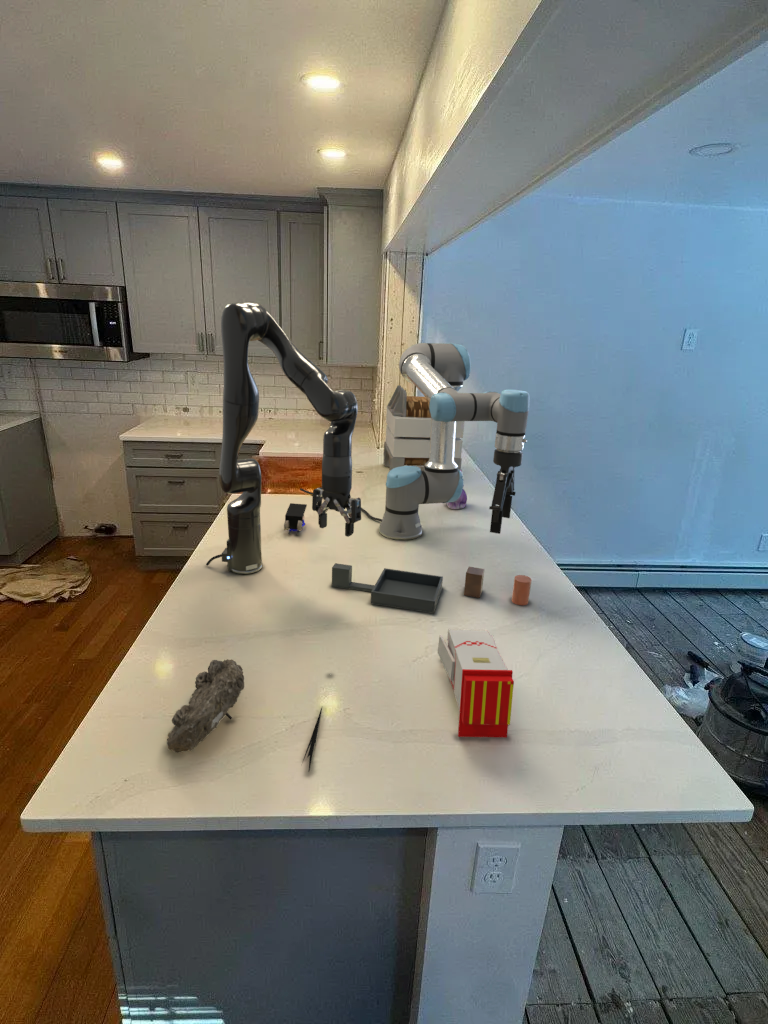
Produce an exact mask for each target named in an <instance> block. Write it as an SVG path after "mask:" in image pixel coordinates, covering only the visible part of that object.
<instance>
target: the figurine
mask: <svg viewBox="0 0 768 1024" xmlns="http://www.w3.org/2000/svg"><path fill="white" fill-rule="evenodd" d="M460 471H461V472H462V473H463V470H462V469H461V470H460ZM464 483H465V482H464ZM464 483H463V490H462V493H461V495H460V497H459V498H458V499H457V500H456V501H454V502H448V503H446V506H447V507H448V509H452V510H460V509H464V508H465V507H466V506H467V502H468V496H467V495H468V494H467V492H466V491H465V489H464V486H465V485H464Z"/></svg>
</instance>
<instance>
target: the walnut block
mask: <svg viewBox="0 0 768 1024" xmlns="http://www.w3.org/2000/svg"><path fill="white" fill-rule="evenodd" d="M484 578H485V568H481V567H474V566H467V570H466V573H465V579H464V589H463V596H466V597H472V598H477V599H480V598H481V596H482V592H483V585H484Z"/></svg>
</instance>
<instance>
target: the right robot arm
mask: <svg viewBox="0 0 768 1024" xmlns="http://www.w3.org/2000/svg"><path fill="white" fill-rule="evenodd" d="M398 363H399V364H398V366H399V367H398V368H399V372H400V374H401V376H402V378H404V380H405V381H406V382H407V383H409V384H413V385H414V387H416V388H417V390H418V391H419V392H420V393H421V394H422V395H423V397H426V398H427V399H428V401H429V402H430V405H429V409H430V413H431V432H430V454H429V461H428V462H427V463H426V464H425V466H424V468H423V469H424V470H422V469H421V467H420V466H407V465H404V466H400V467H396V468H394V469H392V470H390V469H389V470H388V472H387V475H386V480H385V481H386V482H385V504H384V505H385V507H384V508H385V509H384V513H383V515H382V518H378V517H375V516H373V515H371V514H370V513H369V512H368V511H367V510H366V509H365V508H363V507H361V512H363V513H364V514H365V515H366V516H367V517H368V518H369V519H371V520H373V521H378V522H379V527H378V533H379V534H380V535H381V536H382V537H385V538H387V539H389V540H395V541H410V540H415V539H418V538H420V537H421V536H422V535H423V525H422V524H421V518H420V515H419V507H420V505H429V504H447V503H448V502H454V501H456V500H457V499H458V498H459V497H460V495H461V493H462V490H463V489H464V487H463V483H465V482H464V476H463V471H462V472H461V471H460V470H458V465H457V464H456V463H455V462H454V451H455V434H456V421H464V422H494V423H496V430H495V431H496V432H495V439H494V448H495V449H494V450H493V460H492V461H493V464H495V465H496V466H499V467H500V468H499V470H497V473H496V481H495V486H494V489H493V495H492V496H493V497H492V501H491V505H490V506H489V509H488V510H491V519H490V527H489V533H492V534H499V535H500V534H501V531H502V523H503V518H505V519H510V518H511V511H512V504H513V503H512V502H513V496H515V497H516V491H515V478H516V468H518V467H521V466H522V464H523V456H524V453H523V450H524V448H525V444H526V443H528V440H527V439H526V432H527V425H528V417H529V411H530V398H531V397H530V394H529V392H528V391H526V390H519V389H504V390H503V389H502V391H501V392H497V391H491V390H490V391H489V390H488V391H487V390H486V391H484V392H459V391H460V390H461V389H462V388H463V387H464V382H465V381H466V380H468V379H469V378H470V374H471V371H472V361H471V356H470V353H469V351H468V348H466V346H464V345H463V344H458V343H451V342H450V343H445V342H444V343H440V342H439V343H436V342H419V343H418V342H417V343H415V344H412V345H411V346H408V347H407V348H406V349H405V350H404V351H403V352H402V354H401V356H400V358H399V361H398ZM299 491H301V492H304V494H308V495H311V496H313V491H309V490H306V489H304V488H302V487H300V488H299ZM322 499H324V498H323V496H322ZM349 504H350V503H349ZM350 505H351V504H350Z"/></svg>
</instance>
